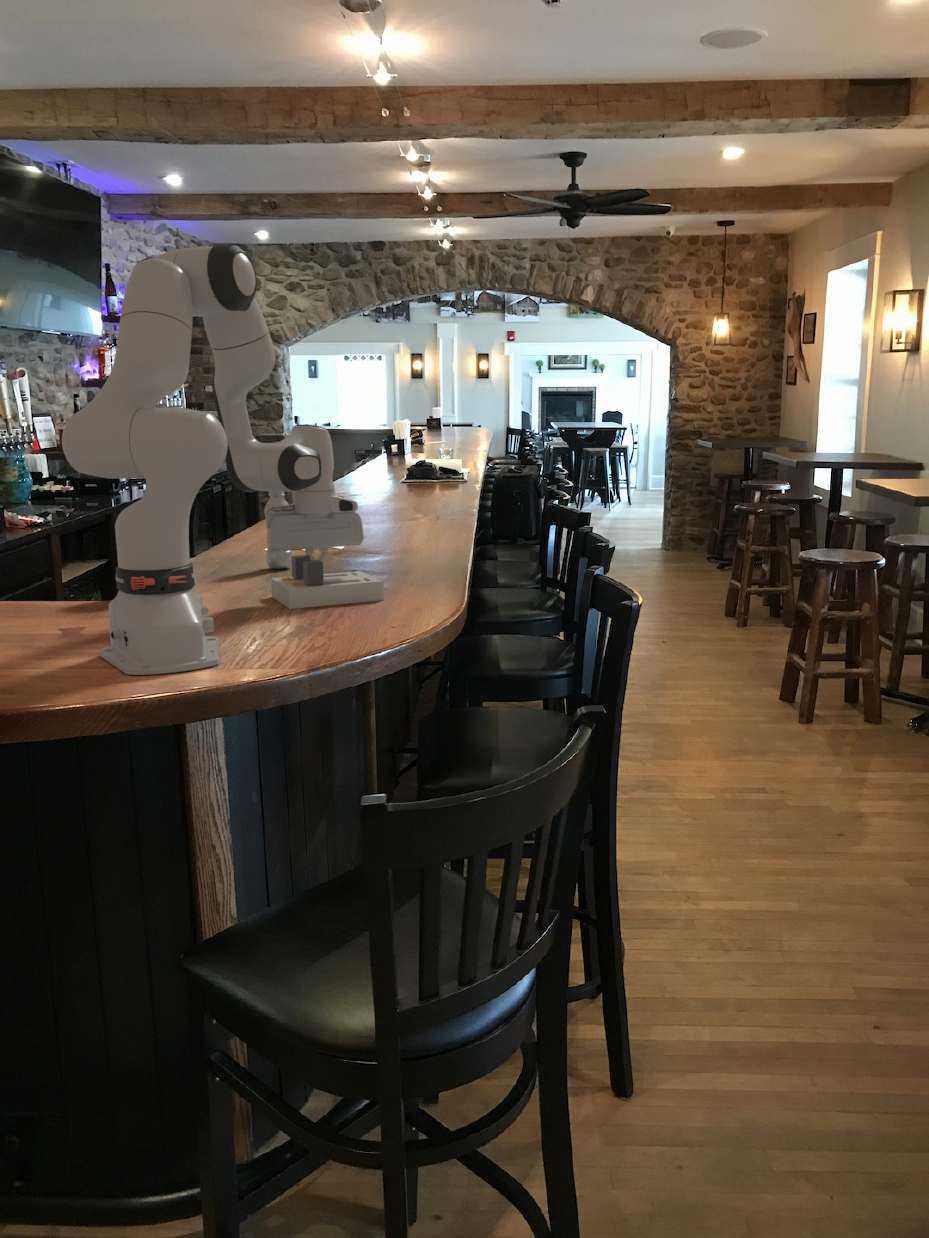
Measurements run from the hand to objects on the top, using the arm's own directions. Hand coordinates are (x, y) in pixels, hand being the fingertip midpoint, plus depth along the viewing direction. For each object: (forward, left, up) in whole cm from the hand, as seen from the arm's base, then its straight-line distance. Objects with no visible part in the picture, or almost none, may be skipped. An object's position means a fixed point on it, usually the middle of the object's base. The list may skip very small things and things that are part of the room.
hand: (317, 569), depth 198 cm
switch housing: (-4, -1, -6) cm, 7 cm away
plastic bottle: (+38, -2, -6) cm, 39 cm away
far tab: (0, +3, -2) cm, 4 cm away
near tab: (-8, +3, -2) cm, 9 cm away
